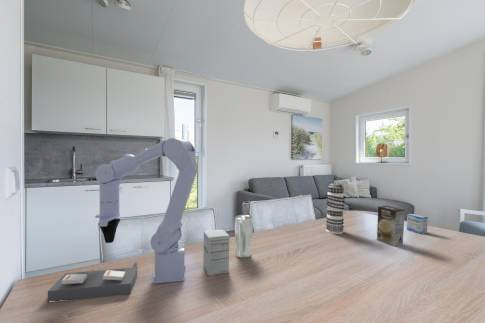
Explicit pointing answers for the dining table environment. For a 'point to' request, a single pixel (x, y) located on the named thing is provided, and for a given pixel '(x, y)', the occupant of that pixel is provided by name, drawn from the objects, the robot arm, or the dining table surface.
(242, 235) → the silver metal canister
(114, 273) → the rocker
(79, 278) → the rocker
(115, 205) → the robot arm
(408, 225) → the medicine box
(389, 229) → the coffee box
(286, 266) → the dining table surface
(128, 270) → the switch panel
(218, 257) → the supplement box
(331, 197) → the striped tower model
